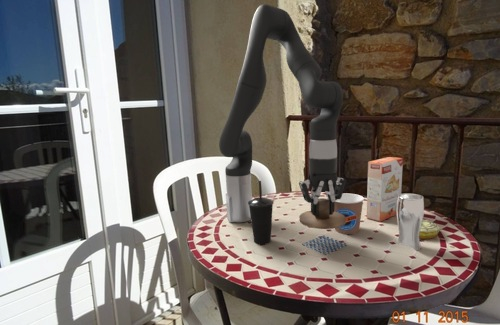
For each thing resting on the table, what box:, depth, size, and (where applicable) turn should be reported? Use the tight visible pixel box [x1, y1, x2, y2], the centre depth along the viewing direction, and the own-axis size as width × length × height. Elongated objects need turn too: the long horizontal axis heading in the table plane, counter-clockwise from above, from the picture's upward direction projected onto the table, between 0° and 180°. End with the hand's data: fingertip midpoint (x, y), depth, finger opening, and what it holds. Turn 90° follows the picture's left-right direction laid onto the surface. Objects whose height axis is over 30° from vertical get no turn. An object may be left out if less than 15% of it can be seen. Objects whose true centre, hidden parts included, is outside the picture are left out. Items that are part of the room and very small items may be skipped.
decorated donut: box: [419, 218, 441, 240], centre depth 106 cm, size 10×11×4 cm
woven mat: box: [301, 235, 348, 256], centre depth 98 cm, size 10×11×2 cm
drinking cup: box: [248, 180, 275, 245], centre depth 101 cm, size 8×8×20 cm
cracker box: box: [366, 156, 404, 222], centre depth 121 cm, size 14×6×21 cm, turn 129°
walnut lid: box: [298, 198, 346, 230], centre depth 96 cm, size 13×13×6 cm
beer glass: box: [396, 192, 425, 251], centre depth 96 cm, size 7×7×15 cm
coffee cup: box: [334, 192, 365, 235], centre depth 108 cm, size 10×10×12 cm
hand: (322, 214), depth 96 cm, fingers closed on walnut lid, 4 cm apart
